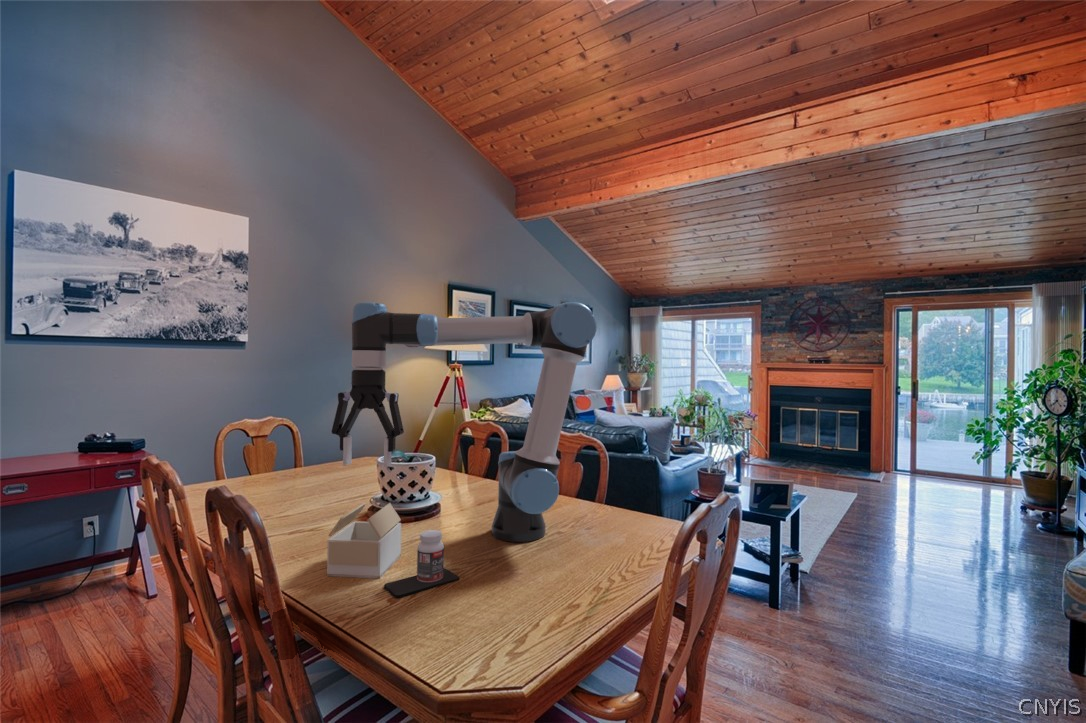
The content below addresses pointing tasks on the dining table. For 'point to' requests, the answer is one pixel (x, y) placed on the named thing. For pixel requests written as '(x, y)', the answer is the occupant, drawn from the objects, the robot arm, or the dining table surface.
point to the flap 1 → (347, 519)
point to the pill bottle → (430, 556)
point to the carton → (362, 551)
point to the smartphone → (417, 585)
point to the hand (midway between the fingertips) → (367, 464)
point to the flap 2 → (384, 520)
